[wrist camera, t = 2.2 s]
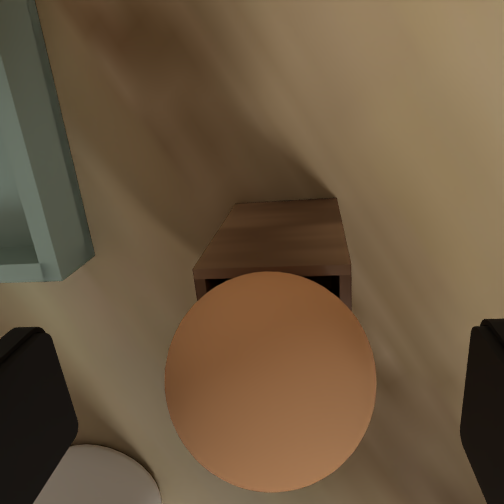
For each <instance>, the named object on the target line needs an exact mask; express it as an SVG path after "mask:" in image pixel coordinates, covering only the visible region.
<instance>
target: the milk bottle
mask: <svg viewBox="0 0 504 504" xmlns="http://www.w3.org/2000/svg"><path fill="white" fill-rule="evenodd" d="M33 504H162V501H161V495H160V491H159V489H158V486H157V483H156V482H155V481H154V479H153V478H152V476H151V475H150V474H149V473H148V472H147V471H146V469H145V468H144V467H143V466H142V465H140V464H139V463H138V462H136V461H135V460H134V459H132V458H131V457H129V456H127V455H125V454H123V453H122V452H119V451H116V450H114V449H111V448H108V447H103V446H99V445H89V444H84V445H74V446H71V447H69V448H68V450H67V452H66V453H65V455H64V456H63V458H62V459H61V461H60V462H59V464H58V466H57V467H56V469H55V470H54V472H53V473H52V475H51V476H50V478H49V480H48V481H47V483H46V484H45V486H44V487H43V489H42V490H41V492H40V494H39V495H38V497H37V498H36V500H35V501H34V503H33Z"/></svg>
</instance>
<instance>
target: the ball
mask: <svg viewBox="0 0 504 504" xmlns="http://www.w3.org/2000/svg"><path fill="white" fill-rule="evenodd" d="M376 387H377V380H376V368H375V361H374V357H373V353H372V349H371V347H370V344H369V341H368V339H367V336H366V334H365V332H364V330H363V328H362V327H361V325H360V323H359V321H358V320H357V318H356V317H355V315H354V314H353V313H352V312H351V310H350V309H349V308H348V307H347V306H346V305H345V304H344V303H343V302H342V301H341V300H340V299H339V298H338V297H337V296H335V295H334V294H333V293H331V292H330V291H329V290H327V289H326V288H325V287H323V286H321V285H319V284H318V283H316V282H314V281H311V280H309V279H307V278H304V277H301V276H298V275H294V274H290V273H283V272H270V271H265V272H254V273H249V274H245V275H241V276H238V277H235V278H233V279H230V280H228V281H225V282H224V283H222V284H220V285H218V286H216V287H215V288H213V289H212V290H210V291H209V292H207V293H206V294H205V295H204V296H203V297H201V298H200V299H199V300H198V301H197V302H196V303H195V304H194V305H193V306H192V308H191V309H190V310H189V311H188V313H187V314H186V315H185V317H184V318H183V319H182V321H181V323H180V325H179V326H178V328H177V330H176V332H175V334H174V337H173V339H172V342H171V345H170V347H169V351H168V356H167V362H166V367H165V394H166V401H167V406H168V410H169V413H170V417H171V420H172V422H173V425H174V427H175V429H176V431H177V433H178V435H179V437H180V439H181V441H182V442H183V444H184V445H185V447H186V448H187V449H188V450H189V452H190V453H191V454H192V455H193V457H194V458H195V459H196V460H197V461H198V462H199V463H200V464H201V465H202V466H203V467H205V468H206V469H207V470H208V471H209V472H211V473H213V474H214V475H216V476H217V477H219V478H220V479H222V480H224V481H226V482H228V483H230V484H233V485H235V486H238V487H240V488H244V489H247V490H252V491H258V492H284V491H291V490H296V489H300V488H303V487H306V486H309V485H311V484H313V483H316V482H318V481H319V480H321V479H323V478H325V477H326V476H328V475H329V474H331V473H333V472H334V471H335V470H336V469H337V468H339V467H340V466H341V465H342V464H343V463H344V462H345V461H346V460H347V459H348V458H349V457H350V455H351V454H352V453H353V452H354V451H355V449H356V448H357V446H358V445H359V443H360V441H361V440H362V438H363V436H364V434H365V432H366V430H367V428H368V426H369V423H370V420H371V417H372V413H373V409H374V406H375V397H376Z"/></svg>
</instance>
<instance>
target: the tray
mask: <svg viewBox="0 0 504 504" xmlns="http://www.w3.org/2000/svg"><path fill="white" fill-rule="evenodd" d="M94 256H95V253H94V249H93V245H92V241H91V236H90V232H89V228H88V224H87V220H86V215H85V211H84V207H83V203H82V198H81V194H80V190H79V186H78V182H77V177H76V173H75V169H74V165H73V160H72V156H71V152H70V148H69V144H68V139H67V135H66V131H65V127H64V122H63V118H62V114H61V110H60V106H59V101H58V97H57V93H56V89H55V84H54V80H53V76H52V72H51V68H50V63H49V59H48V55H47V51H46V46H45V42H44V38H43V34H42V30H41V25H40V21H39V17H38V13H37V8H36V4H35V0H0V283H12V282H47V281H63V280H64V279H66V278H67V277H68V276H69V275H71V274H72V273H73V272H75V271H76V270H77V269H78V268H80V267H81V266H82V265H84V264H85V263H86V262H87V261H89V260H90V259H91V258H93V257H94Z"/></svg>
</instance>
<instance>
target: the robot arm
mask: <svg viewBox="0 0 504 504" xmlns="http://www.w3.org/2000/svg"><path fill="white" fill-rule="evenodd" d="M77 432H78V420H77V417H76V414H75V411H74V407H73V404H72V401H71V398H70V395H69V391H68V388H67V385H66V382H65V379H64V375H63V372H62V369H61V366H60V363H59V360H58V356H57V353H56V350H55V347H54V344H53V340H52V338H51V336H50V335H49V334H47V333H45V331H44V330H43V329H42V328H40V327H18V328H13V329H12V330H10V331H9V332H8V333H7V334H5V335H4V336H3V337H2V338H1V339H0V504H33V503H34V501H35V500H36V498H37V497H38V495H39V494H40V492H41V490H42V489H43V487H44V486H45V484H46V483H47V481H48V480H49V478H50V476H51V475H52V473H53V472H54V470H55V469H56V467H57V466H58V464H59V462H60V461H61V459H62V458H63V456H64V455H65V453H66V452H67V450H68V448H69V447H70V445H71V444H72V442H73V441H74V439H75V437H76V435H77ZM460 436H461V441H462V445H463V448H464V450H465V452H466V455H467V457H468V460H469V462H470V464H471V467H472V469H473V471H474V474H475V476H476V478H477V481H478V483H479V486H480V488H481V490H482V493H483V495H484V497H485V500H486V502H487V504H504V319H484V320H482V322H481V324H480V326H474V327H473V328H472V330H471V337H470V345H469V354H468V363H467V372H466V380H465V389H464V398H463V407H462V416H461V424H460Z"/></svg>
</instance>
